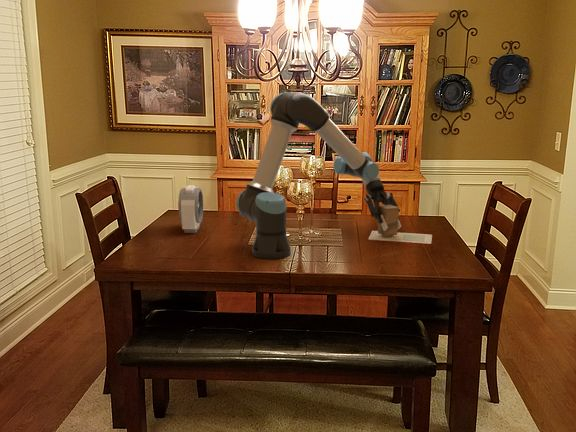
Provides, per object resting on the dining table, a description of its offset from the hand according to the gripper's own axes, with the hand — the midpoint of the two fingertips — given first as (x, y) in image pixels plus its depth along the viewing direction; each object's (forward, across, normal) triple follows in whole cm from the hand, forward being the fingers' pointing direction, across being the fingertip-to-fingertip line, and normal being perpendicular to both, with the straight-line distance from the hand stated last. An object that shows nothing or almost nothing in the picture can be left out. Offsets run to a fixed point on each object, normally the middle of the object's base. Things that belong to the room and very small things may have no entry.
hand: (392, 228), depth 247 cm
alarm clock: (-33, +72, -41) cm, 90 cm away
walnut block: (0, 0, -5) cm, 5 cm away
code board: (+3, -4, -4) cm, 7 cm away
